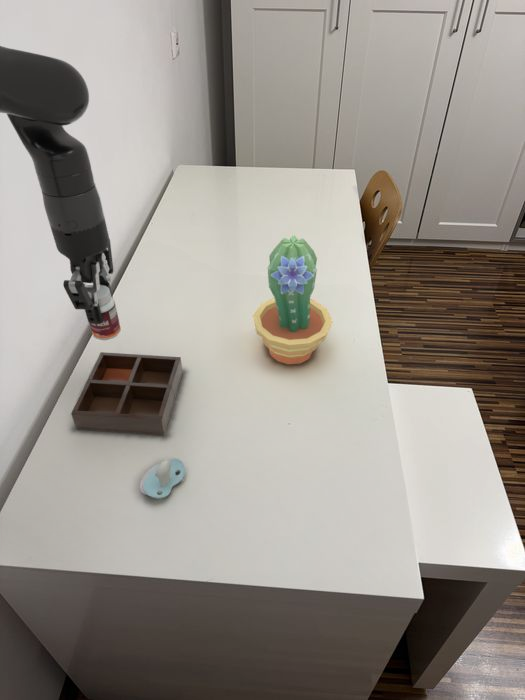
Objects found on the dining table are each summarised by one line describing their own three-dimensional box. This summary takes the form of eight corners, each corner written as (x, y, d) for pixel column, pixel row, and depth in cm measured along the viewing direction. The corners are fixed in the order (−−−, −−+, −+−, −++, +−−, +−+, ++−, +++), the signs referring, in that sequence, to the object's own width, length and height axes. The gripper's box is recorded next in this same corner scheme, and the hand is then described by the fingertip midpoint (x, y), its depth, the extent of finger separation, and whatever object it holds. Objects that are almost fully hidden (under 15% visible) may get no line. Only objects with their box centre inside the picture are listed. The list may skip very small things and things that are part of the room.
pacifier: (131, 491, 77) (160, 509, 75) (122, 467, 73) (154, 485, 71) (162, 458, 82) (191, 474, 79) (156, 433, 78) (186, 449, 75)
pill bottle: (87, 339, 84) (75, 298, 78) (99, 322, 87) (88, 281, 81) (114, 342, 83) (104, 302, 77) (125, 325, 87) (116, 284, 81)
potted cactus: (237, 353, 101) (233, 244, 84) (281, 316, 110) (286, 210, 93) (300, 387, 94) (310, 275, 77) (342, 344, 103) (359, 236, 86)
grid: (164, 435, 85) (161, 420, 82) (76, 429, 86) (70, 413, 83) (182, 372, 97) (180, 357, 94) (105, 367, 98) (100, 352, 95)
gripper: (69, 193, 76) (93, 286, 88) (29, 240, 66) (62, 339, 77) (117, 196, 76) (135, 288, 87) (84, 243, 65) (110, 342, 77)
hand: (101, 311), depth 82 cm, fingers closed on pill bottle, 4 cm apart
